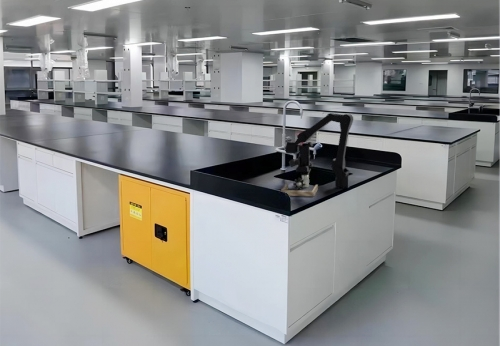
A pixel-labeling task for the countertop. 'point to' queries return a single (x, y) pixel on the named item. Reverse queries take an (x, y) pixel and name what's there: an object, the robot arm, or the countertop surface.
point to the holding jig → (299, 193)
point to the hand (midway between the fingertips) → (304, 181)
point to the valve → (302, 182)
